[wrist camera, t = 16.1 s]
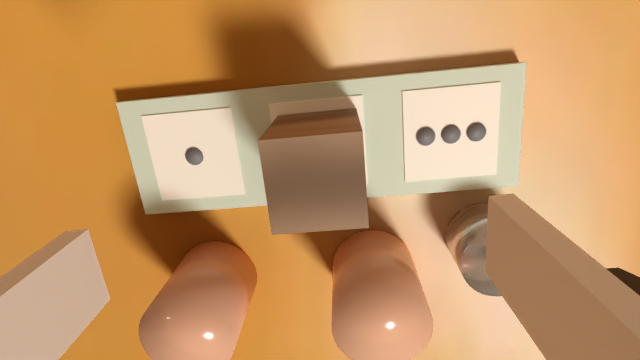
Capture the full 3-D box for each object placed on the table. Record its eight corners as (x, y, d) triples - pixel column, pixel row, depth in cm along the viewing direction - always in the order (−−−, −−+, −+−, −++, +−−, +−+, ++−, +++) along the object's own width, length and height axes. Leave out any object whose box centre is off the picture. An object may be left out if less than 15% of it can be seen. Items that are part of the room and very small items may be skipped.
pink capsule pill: (336, 300, 31) (336, 369, 25) (329, 232, 29) (327, 287, 23) (412, 296, 31) (433, 365, 24) (411, 227, 29) (432, 281, 22)
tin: (445, 266, 30) (461, 298, 26) (445, 205, 28) (461, 230, 25) (513, 261, 30) (539, 293, 26) (517, 200, 28) (545, 224, 24)
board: (151, 209, 29) (144, 215, 28) (123, 100, 27) (114, 103, 26) (512, 181, 27) (519, 187, 26) (519, 62, 25) (528, 62, 24)
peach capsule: (189, 308, 32) (151, 377, 26) (173, 243, 30) (127, 299, 24) (262, 304, 32) (242, 373, 25) (250, 238, 30) (225, 294, 23)
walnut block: (278, 115, 25) (257, 140, 19) (356, 107, 25) (362, 131, 18) (288, 187, 27) (271, 234, 20) (361, 181, 27) (369, 227, 20)
